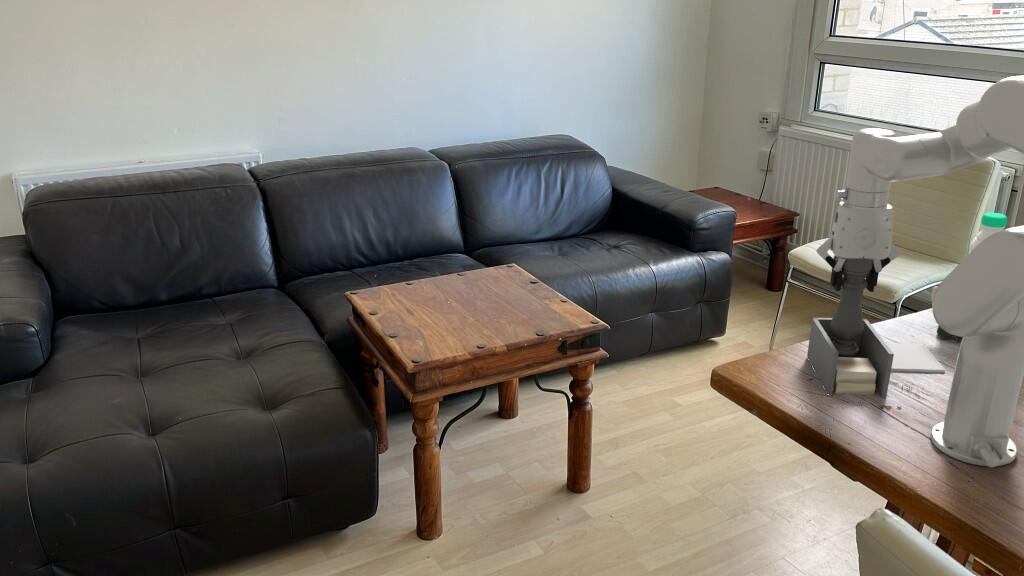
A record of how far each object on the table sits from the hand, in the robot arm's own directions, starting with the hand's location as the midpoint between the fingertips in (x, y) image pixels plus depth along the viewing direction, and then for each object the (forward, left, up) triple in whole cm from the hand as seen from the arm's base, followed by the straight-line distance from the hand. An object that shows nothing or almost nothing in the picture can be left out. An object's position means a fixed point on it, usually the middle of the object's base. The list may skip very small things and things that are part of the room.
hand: (852, 288), depth 156 cm
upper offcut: (-7, 0, -15) cm, 17 cm away
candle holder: (0, 0, -18) cm, 18 cm away
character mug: (+17, -28, -18) cm, 37 cm away
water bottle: (+26, -36, -18) cm, 48 cm away
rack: (-3, 0, -17) cm, 18 cm away
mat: (+6, -14, -17) cm, 23 cm away
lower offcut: (-7, 0, -18) cm, 19 cm away
